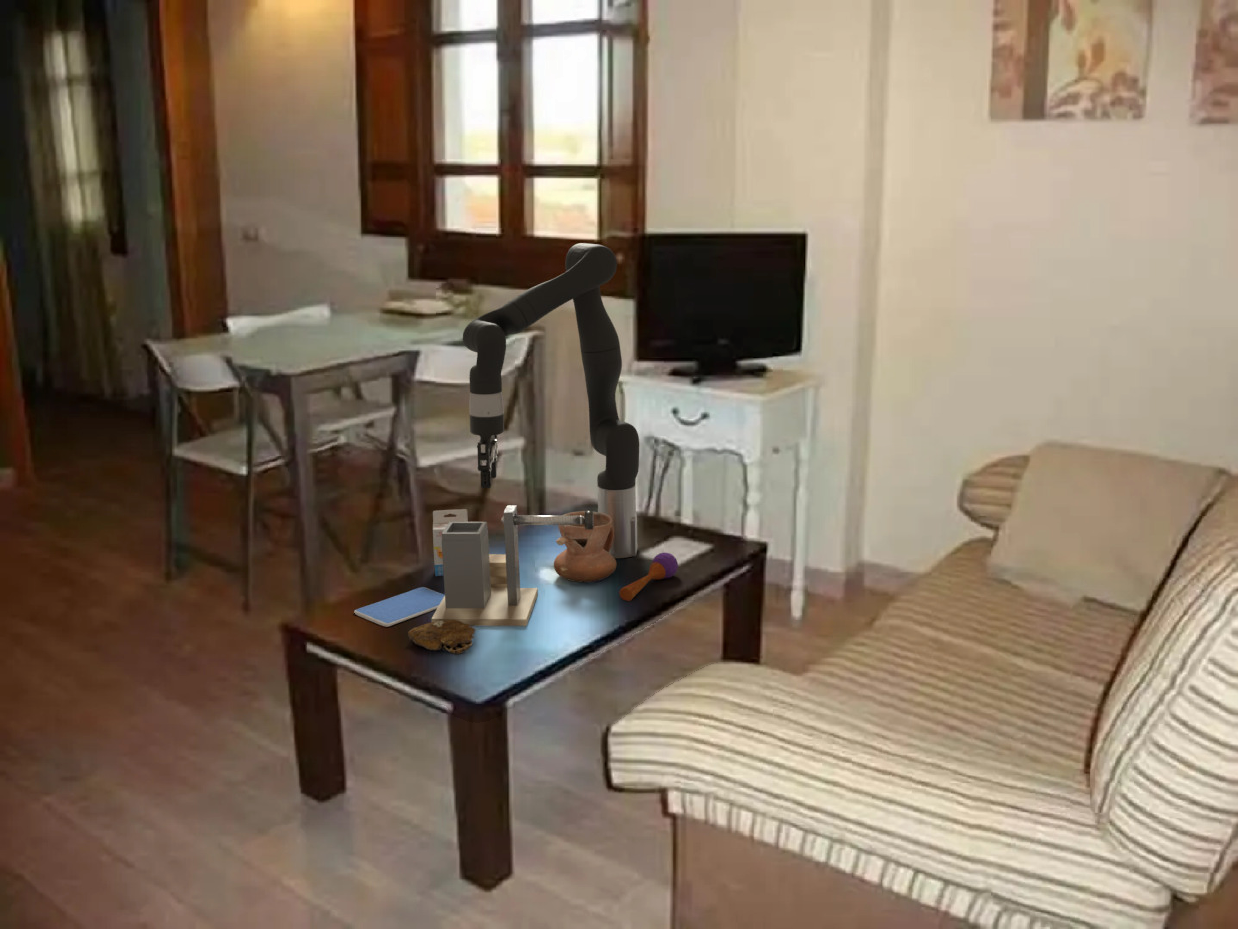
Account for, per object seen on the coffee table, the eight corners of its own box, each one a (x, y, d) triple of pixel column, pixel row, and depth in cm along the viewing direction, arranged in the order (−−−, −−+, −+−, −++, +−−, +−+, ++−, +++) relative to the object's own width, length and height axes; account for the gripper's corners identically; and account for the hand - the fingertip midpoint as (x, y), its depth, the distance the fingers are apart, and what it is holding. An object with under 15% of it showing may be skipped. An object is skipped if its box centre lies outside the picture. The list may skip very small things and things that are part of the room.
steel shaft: (593, 526, 254) (593, 508, 253) (592, 532, 250) (591, 514, 249) (503, 526, 256) (502, 508, 255) (500, 532, 252) (499, 514, 251)
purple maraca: (611, 582, 262) (657, 549, 278) (617, 607, 263) (663, 572, 279) (634, 582, 258) (679, 548, 274) (640, 607, 260) (684, 572, 275)
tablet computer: (423, 590, 271) (422, 585, 271) (458, 603, 263) (458, 598, 263) (352, 615, 257) (351, 610, 257) (387, 630, 249) (387, 624, 249)
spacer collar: (512, 580, 275) (510, 554, 273) (508, 589, 269) (507, 562, 268) (488, 580, 275) (486, 554, 273) (483, 589, 270) (482, 562, 268)
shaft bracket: (520, 597, 260) (516, 505, 255) (517, 605, 255) (512, 512, 250) (511, 597, 260) (507, 505, 255) (508, 605, 256) (503, 512, 250)
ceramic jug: (581, 594, 265) (581, 533, 262) (537, 578, 275) (536, 519, 271) (635, 574, 278) (636, 515, 274) (591, 559, 288) (591, 503, 284)
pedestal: (491, 594, 262) (487, 521, 258) (484, 608, 254) (480, 533, 250) (453, 593, 263) (449, 521, 259) (445, 608, 255) (441, 533, 250)
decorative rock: (493, 645, 241) (441, 631, 250) (492, 626, 240) (440, 612, 249) (452, 662, 232) (400, 646, 241) (451, 642, 231) (399, 627, 240)
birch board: (537, 594, 266) (537, 588, 265) (526, 626, 248) (526, 619, 248) (449, 593, 267) (449, 587, 267) (431, 625, 250) (431, 618, 249)
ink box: (435, 577, 278) (431, 516, 274) (435, 569, 283) (431, 510, 279) (471, 574, 279) (468, 514, 275) (471, 567, 284) (467, 508, 280)
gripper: (499, 418, 256) (501, 491, 260) (507, 405, 269) (509, 474, 274) (464, 418, 256) (467, 491, 260) (474, 405, 270) (477, 474, 274)
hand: (488, 482), depth 267 cm, fingers open, 8 cm apart
